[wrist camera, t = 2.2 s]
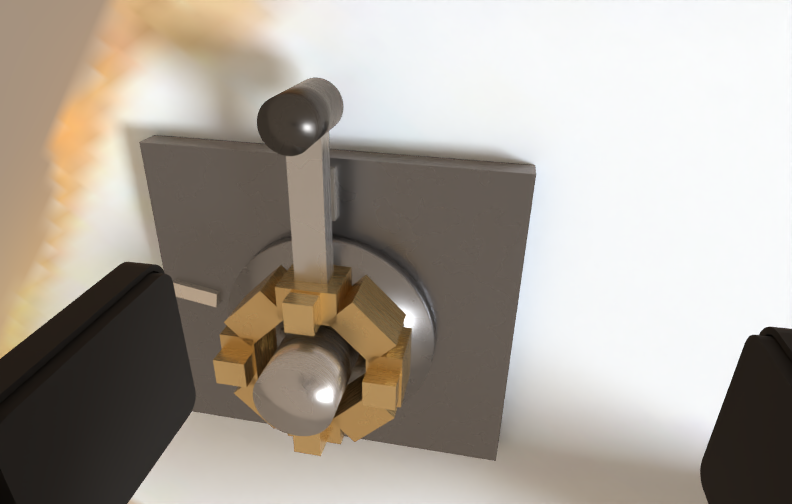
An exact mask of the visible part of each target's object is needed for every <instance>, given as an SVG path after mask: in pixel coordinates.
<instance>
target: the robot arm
mask: <svg viewBox="0 0 792 504" xmlns="http://www.w3.org/2000/svg"><path fill="white" fill-rule="evenodd" d="M195 399H196V391H195V386H194V381H193V376H192V372H191V367H190V362H189V357H188V352H187V347H186V343H185V338H184V333H183V328H182V323H181V318H180V313H179V309H178V304H177V299H176V294H175V289H174V284H173V281H172V278H171V277H170V276H169V275H167V274H165V273H164V270H163V269H162V268H161V267H160V266H158V265H154V264H144V263H134V262H124V263H122V264H120V265H119V266H118V267H116V268H115V269H114V270H113V271H111V272H110V273H109V274H107V275H106V276H105V277H104V278H102V279H101V280H100V281H99V282H97V283H96V284H95V285H93V286H92V287H91V288H90V289H88V290H87V291H86V292H85V293H83V294H82V295H81V296H80V297H78V298H77V299H76V300H74V301H73V302H72V303H71V304H69V305H68V306H67V307H66V308H64V309H63V310H62V311H60V312H59V313H58V314H57V315H55V316H54V317H53V318H52V319H50V320H49V321H48V322H47V323H45V324H44V325H43V326H41V327H40V328H39V329H38V330H36V331H35V332H34V333H33V334H31V335H30V336H29V337H27V338H26V339H25V340H24V341H22V342H21V343H20V344H19V345H17V346H16V347H15V348H14V349H12V350H11V351H10V352H8V353H7V354H6V355H5V356H3V357H2V358H1V359H0V504H127V503H128V502H129V500H130V499H131V498H132V496H133V495H134V493H135V492H136V490H137V489H138V488H139V486H140V485H141V483H142V482H143V481H144V479H145V478H146V476H147V475H148V473H149V472H150V471H151V469H152V468H153V466H154V465H155V463H156V462H157V461H158V459H159V458H160V456H161V455H162V453H163V452H164V451H165V449H166V448H167V446H168V445H169V443H170V442H171V441H172V439H173V438H174V436H175V435H176V433H177V432H178V431H179V429H180V428H181V426H182V425H183V423H184V422H185V421H186V419H187V418H188V416H189V415H190V413H191V412H192V410H193V407H194V404H195ZM700 475H701V483H702V487H703V490H704V492H705V495H706V498H707V501H708V504H792V329H787V328H777V327H766V328H764V329H763V330H762V331H761V332H760V334H759V335H751V336H749V338H748V339H747V340H746V342H745V345H744V347H743V350H742V353H741V356H740V358H739V361H738V364H737V367H736V369H735V372H734V375H733V377H732V380H731V383H730V386H729V388H728V391H727V394H726V396H725V399H724V402H723V405H722V407H721V410H720V413H719V416H718V418H717V421H716V424H715V426H714V429H713V432H712V435H711V437H710V440H709V443H708V446H707V448H706V451H705V454H704V456H703V459H702V463H701V469H700Z"/></svg>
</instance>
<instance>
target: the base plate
mask: <svg viewBox="0 0 792 504" xmlns="http://www.w3.org/2000/svg"><path fill="white" fill-rule="evenodd" d="M140 147H141V152H142V157H143V162H144V168H145V173H146V178H147V183H148V189H149V194H150V199H151V204H152V210H153V215H154V220H155V226H156V231H157V236H158V241H159V247H160V252H161V257H162V262H163V268H164V273H165V274H167V275H169V276H170V277H171V278H172V281H173V284H174V289H175V294H176V299H177V304H178V309H179V313H180V318H181V323H182V328H183V333H184V338H185V343H186V347H187V352H188V357H189V362H190V367H191V372H192V376H193V381H194V386H195V391H196V399H195V404H194V407H193V410H192V411H194V412H200V413H206V414H213V415H219V416H225V417H231V418H237V419H243V420H249V421H255V422H262V423H267V422H268V423H269V424H270V425H272V426H273V427H275V428H276V429H278V430H280V431H282V432H285V433H288V434H291V435H296V436H311V435H315V434H318V433H320V432H322V431H324V430H325V429H326V428H327V427H328V426H329V425H330V424H331V422H332V420H333V417H334V415H335V413H336V410H337V408H338V405H339V403H340V400H341V398H342V395H343V393H344V391H345V388H346V386H347V384H350V383H351V382H353V381H354V380H356V379H357V378H358V377H360V376H361V375H363V374H364V373H366V359H365V358H364V357H363V356H362V355H360V354H359V353H358V352H357V351H356V350H355V349H354V348H353V347H352V346H351V345H350V344H349V343H348V342H347V341H346V340H345V339H344V338H343V337H342V336H341V335H340V334H339V333H338V332H337V331H336V330H335V329H333V328H332V327H331V326H325V325H320V327H319V329H318V331H317V332H316V334H315V336H307V335H300V334H292V333H285V332H284V321H282V322H280V323H279V324H278V325H277V326H275V328H276V338H277V350H276V351H275V353H274V355H273V356H272V358H271V359H270V361H269V362H268V364H267V366H266V367H265V369H264V370H263V372H262V373H261V375H260V377H259V378H258V380H257V381H256V383H255V385H254V388H253V401H254V404H255V407H256V409H257V411H258V412H259V414H260V415H261V416H262V417H263V418H264V419H265V420H266V421H267V422H266V421H265V420H264V419H262V418H261V417H260V416H259V415H258V414H257V413H256V412H254V411H253V410H252V409H251V408H250V407H249V406H248V405H247V404H245V403H244V402H243V401H242V400H241V399H240V398H239V397H237V396H236V395H235V394H234V392H235V391H236V389H237V388H238V386H233V385H226V384H220V383H216V376H215V370H214V364H213V359H214V358H215V357H216V356H217V354H218V353H219V352H220V350H221V349H222V347H221V341H220V333H221V332H222V331H223V330H224V328H225V327H226V326H227V325H226V324H225V323H224V322H225V320H226V319H227V318H228V317H229V316H230V314H231V313H232V312H233V311H234V309H235V308H236V307H237V306H238V305H239V303H240V302H241V301H242V300H243V299H244V297H245V296H246V295H247V294H248V293H249V292H250V291H252V290H253V289H254V288H255V287H256V286H257V285H258V284H260V283H261V282H262V281H263V280H264V279H265V278H266V277H268V276H269V275H270V274H271V273H272V272H273V271H274V270H275V269H277V268H278V267H279V266H280V265H282V266H283V267H284V268H285V269H286V270H288V269H289V268H290V267H291V265H292V264H293V250H292V236H291V222H290V207H289V193H288V179H287V165H286V156H284V155H280V154H278V153H276V152H274V151H273V150H271V149H270V148H269V147H268V146H267V145H266V144H259V143H247V142H234V141H221V140H208V139H196V138H183V137H170V136H158V135H154V136H152V137H150V138H148V139H145V140H143V141H141V142H140ZM330 178H331V208H332V237H333V265H337V266H346V267H351V278H352V285H354V284H355V283H356V282H357V281H359V280H360V279H361V278H362V277H364V276H365V275H367V276H368V277H369V278H370V279H371V280H372V281H373V282H374V283H375V284H376V285H377V286H378V287H379V288H380V289H381V290H382V291H383V292H384V293H385V294H386V295H387V296H388V297H389V298H390V299H391V300H392V301H393V302H394V303H395V304H396V305H397V306H398V307H399V308H400V309H401V310H402V311H403V312H404V313H405V314H406V317H405V320H404V323H403V326H402V327H408V328H412V338H411V363H410V376H409V379H408V383H407V387H406V390H405V394H404V398H403V402H402V405H401V407H397V410H396V414H395V418H394V419H392V420H391V421H389V422H387V423H386V424H384V425H382V426H381V427H379V428H377V429H376V430H374V431H372V432H371V433H369V434H367V435H366V436H364V437H362V438H361V439H366V440H372V441H378V442H384V443H390V444H396V445H402V446H408V447H415V448H421V449H427V450H433V451H439V452H445V453H451V454H457V455H464V456H470V457H476V458H482V459H488V460H494V461H496V454H497V447H498V440H499V433H500V426H501V419H502V412H503V405H504V398H505V391H506V383H507V376H508V369H509V362H510V355H511V348H512V341H513V334H514V327H515V320H516V312H517V305H518V298H519V291H520V284H521V277H522V270H523V263H524V256H525V249H526V241H527V234H528V227H529V220H530V213H531V206H532V199H533V192H534V185H535V178H536V169H535V165H526V164H513V163H500V162H488V161H475V160H462V159H449V158H437V157H424V156H411V155H399V154H386V153H373V152H361V151H348V150H335V149H330ZM344 436H347V437H349V436H348V435H346V434H344Z"/></svg>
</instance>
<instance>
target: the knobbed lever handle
mask: <svg viewBox="0 0 792 504" xmlns="http://www.w3.org/2000/svg"><path fill="white" fill-rule="evenodd" d="M342 114H343V100H342V97H341V95H340V93H339V91H338V89H337V88H336V87H335V86H334V85H333V84H332V83H330V82H329V81H327V80H325V79H322V78H310V79H307V80H305V81H303V82H301V83H299V84H297V85H295V86H293V87H291V88H289V89H287V90H286V91H284V92H282V93H280V94H278V95H276V96H274V97H272V98H270V99H269V100H267V101H266V102H265V103H264V104H263V105H262V106H261V108H260V110H259V113H258V116H257V127H258V131H259V134H260V136H261V138H262V140H263V141H264V143H265V144H266V145H267V146H268V147H269V148H270V149H271V150H273V151H274V152H276V153H278V154H280V155H284V156H286V165H287V179H288V193H289V207H290V222H291V236H292V250H293V264H292V265H291V267H290V268H289V269H288V270H286V269H285V268H284V267H283V266H282V265H280V266H279V267H278V268H277V269H275V270H274V271H273V272H272V273H271V274H270V275H269V276H268V277H266V278H265V279H264V280H263V281H262V282H261V283H260V284H258V285H257V286H256V287H255V288H254V289H253V290H252V291H250V292H249V293H248V294H247V295H246V296H245V297H244V299H243V300H242V301H241V302H240V303H239V305H238V306H237V307H236V308H235V309H234V311H233V312H232V313H231V314H230V316H229V317H228V318H227V319H226V320H225V322H224V323H225V324H226V325H227V326H226V327H225V328H224V330H223V331H222V332H221V333H220V341H221V347H222V349H221V350H220V352H219V353H218V354H217V356H216V357H215V358H214V359H213V364H214V370H215V376H216V383H220V384H226V385H233V386H238V388H237V389H236V391H235V392H234V394H235V395H236V396H237V397H239V398H240V399H241V400H242V401H243V402H244V403H245V404H247V405H248V406H249V407H250V408H251V409H252V410H253V411H254V412H256V413H257V414H258V415H259V416H260V417H261V418H262V419H264V418H263V417H262V416H261V415H260V414H259V412H258V411H257V409H256V407H255V404H254V401H253V388H254V385H255V383H256V381H257V380H258V378H259V377H260V375H261V373H262V372H263V370H264V369H265V367H266V366H267V364H268V362H269V361H270V359H271V358H272V356H273V355H274V353H275V351H276V350H277V338H276V328H275V326H277V325H278V324H279V323H280V322H282V321H284V332H285V333H292V334H300V335H307V336H315V334H316V332H317V331H318V329H319V327H320V325H325V326H331V327H332V328H333V329H335V330H336V331H337V332H338V333H339V334H340V335H341V336H342V337H343V338H344V339H345V340H346V341H347V342H348V343H349V344H350V345H351V346H352V347H353V348H354V349H355V350H356V351H357V352H358V353H359V354H360V355H362V356H363V357H364V358H365V359H366V373H364V374H363V375H361V376H360V377H358V378H357V379H356V380H354V381H353V382H351V383H350V384H347V386H346V388H345V391H344V393H343V395H342V398H341V400H340V403H339V405H338V408H337V410H336V413H335V415H334V417H333V420H332V422H331V424H330V425H329V426H328V427H327V428H326V429H325V430H324V431H322V432H320V433H318V434H315V435H311V436H296V435H291V434H288V436H293V441H294V452H300V453H306V454H312V455H318V456H321V454H322V452H323V449H324V447H325V444H326V442H330V443H337V444H341V442H342V440H343V437H344V434H346V435H348V436H349V437H350V438H351V439H352V440H353V441H354V442H356V441H357V440H359V439H361V438H362V437H364V436H366V435H367V434H369V433H371V432H372V431H374V430H376V429H377V428H379V427H381V426H382V425H384V424H386V423H387V422H389V421H391V420H392V419H394V418H395V414H396V410H397V407H401V405H402V402H403V398H404V394H405V390H406V387H407V383H408V379H409V376H410V363H411V338H412V328H408V327H402V326H403V323H404V320H405V317H406V314H405V313H404V312H403V311H402V310H401V309H400V308H399V307H398V306H397V305H396V304H395V303H394V302H393V301H392V300H391V299H390V298H389V297H388V296H387V295H386V294H385V293H384V292H383V291H382V290H381V289H380V288H379V287H378V286H377V285H376V284H375V283H374V282H373V281H372V280H371V279H370V278H369V277H368V276H367V275H365V276H364V277H362V278H361V279H360V280H359V281H357V282H356V283H355V284H354V285H352V278H351V267H346V266H337V265H333V237H332V208H331V178H330V148H329V130H331V129H332V128H333V127H334V126H335V125H336V124H337V123H338V122H339V120H340V119H341V117H342ZM264 420H265V419H264ZM265 421H266V420H265ZM266 422H267V421H266ZM267 423H268V422H267ZM268 424H269V423H268ZM269 425H270V424H269ZM270 426H271V427H273V426H272V425H270ZM273 428H274V429H275V427H273Z"/></svg>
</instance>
